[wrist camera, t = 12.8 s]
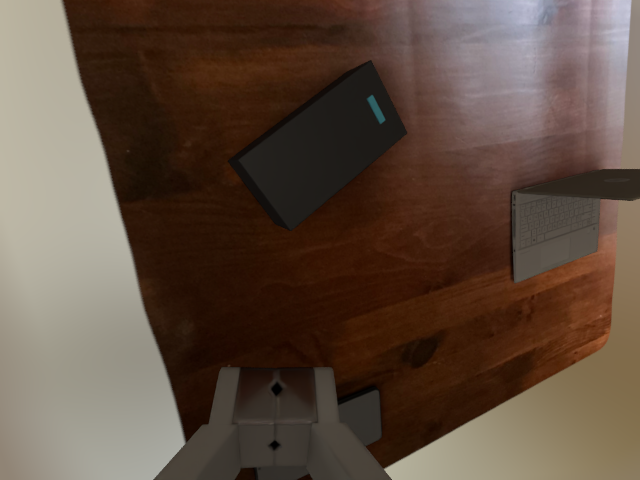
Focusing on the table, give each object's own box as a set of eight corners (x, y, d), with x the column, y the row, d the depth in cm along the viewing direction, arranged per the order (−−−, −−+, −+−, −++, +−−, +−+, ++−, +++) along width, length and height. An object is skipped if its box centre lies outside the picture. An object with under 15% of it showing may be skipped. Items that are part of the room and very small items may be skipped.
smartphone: (383, 438, 43) (259, 498, 36) (378, 433, 43) (257, 491, 37) (380, 387, 41) (250, 440, 35) (375, 382, 42) (248, 434, 36)
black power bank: (291, 231, 29) (409, 132, 33) (238, 159, 27) (372, 59, 30) (275, 224, 33) (381, 136, 36) (226, 160, 30) (346, 71, 34)
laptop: (510, 282, 49) (623, 317, 37) (510, 189, 46) (633, 196, 34) (591, 250, 56) (708, 272, 44) (596, 168, 52) (723, 167, 41)
